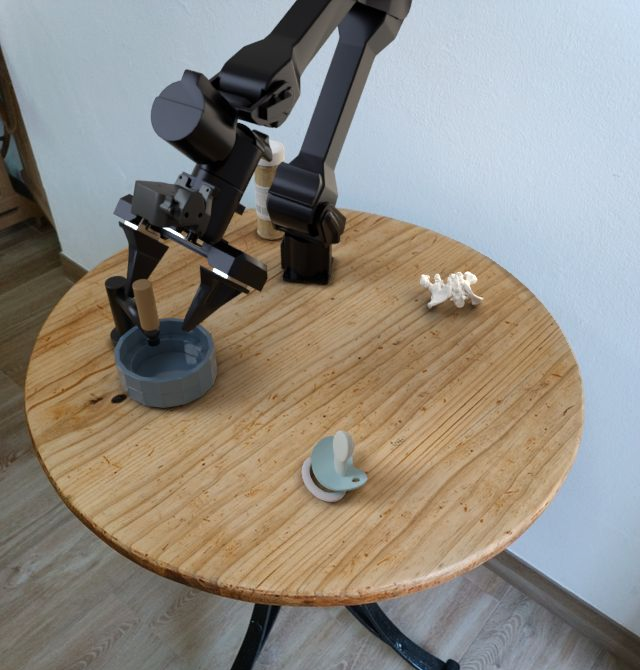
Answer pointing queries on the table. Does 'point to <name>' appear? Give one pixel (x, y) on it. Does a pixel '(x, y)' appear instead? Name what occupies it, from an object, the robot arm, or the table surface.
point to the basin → (166, 364)
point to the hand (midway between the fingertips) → (156, 313)
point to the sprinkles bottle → (262, 184)
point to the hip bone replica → (451, 289)
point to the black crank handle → (134, 308)
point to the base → (114, 337)
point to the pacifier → (333, 467)
